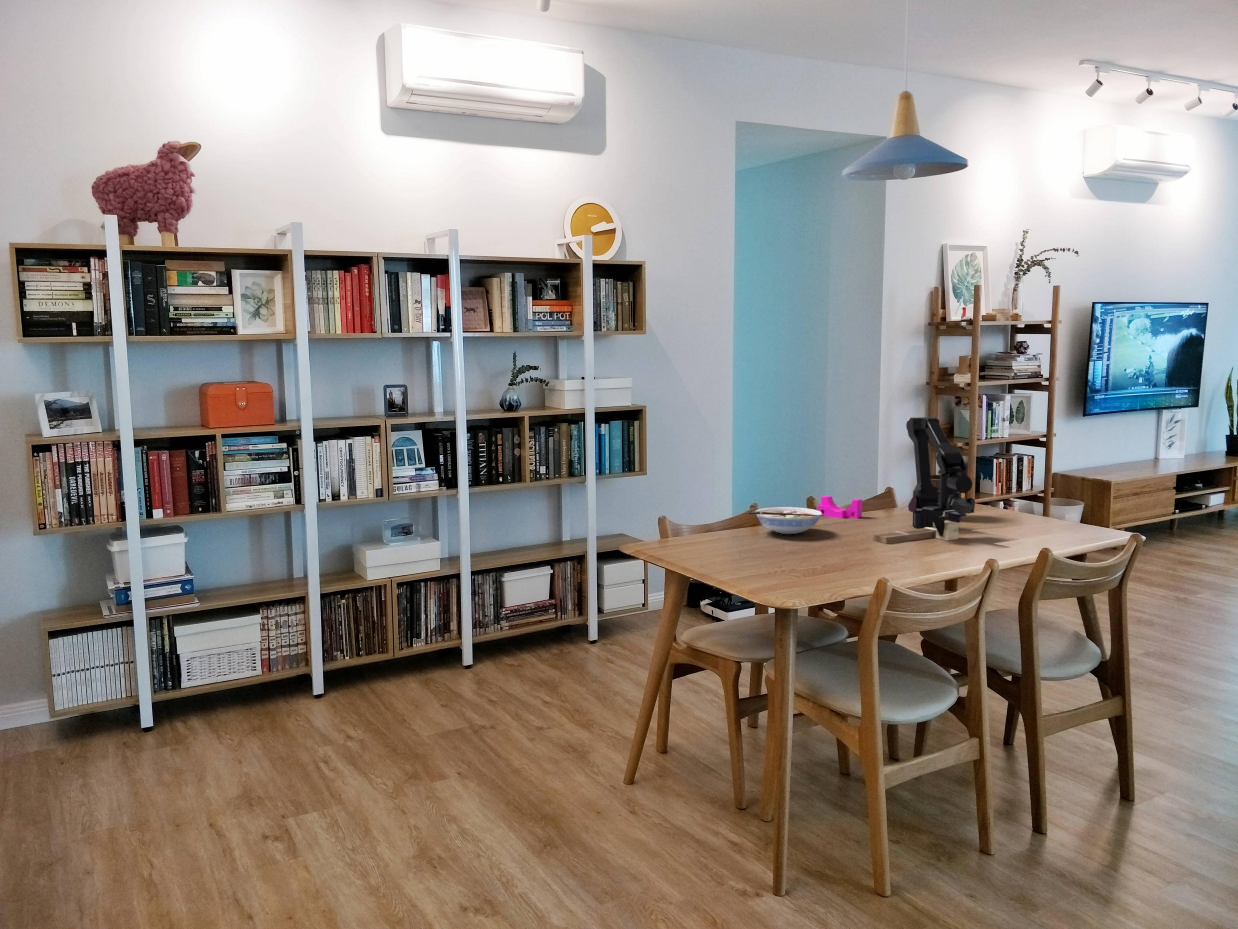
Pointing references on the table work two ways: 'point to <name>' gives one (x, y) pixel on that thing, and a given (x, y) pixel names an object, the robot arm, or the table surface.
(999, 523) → the table surface
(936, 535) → the cream cube
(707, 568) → the table surface
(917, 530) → the walnut plank
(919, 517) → the robot arm
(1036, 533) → the table surface
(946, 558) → the table surface
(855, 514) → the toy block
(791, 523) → the ramen bowl
